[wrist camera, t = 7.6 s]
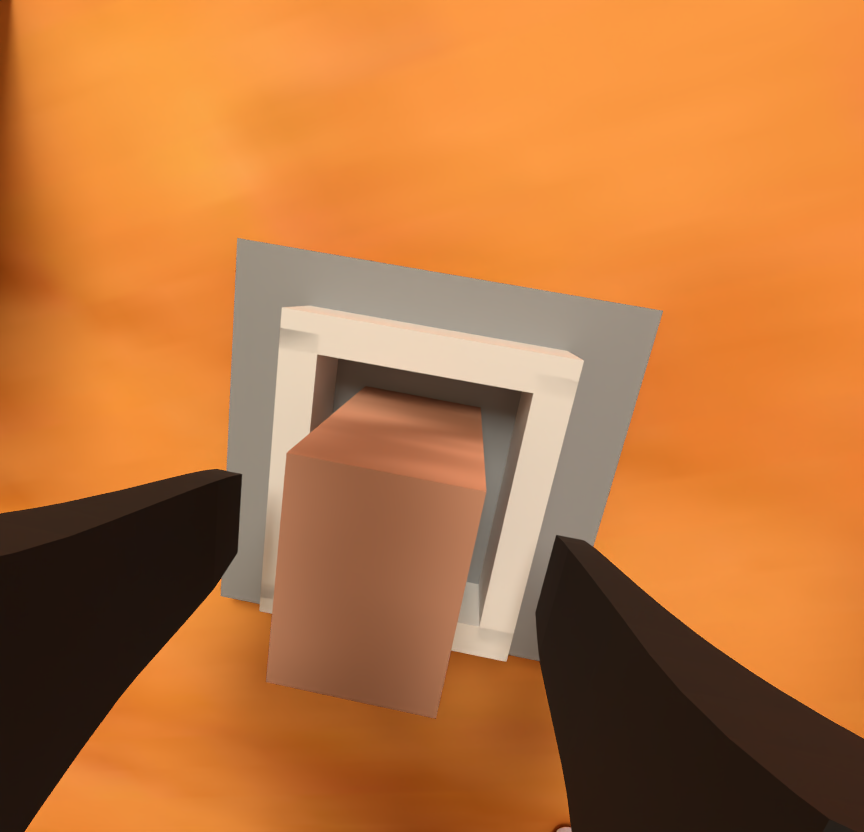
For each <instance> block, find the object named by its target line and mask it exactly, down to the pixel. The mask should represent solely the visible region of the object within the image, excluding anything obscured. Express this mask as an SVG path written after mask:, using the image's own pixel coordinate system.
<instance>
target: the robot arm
mask: <svg viewBox="0 0 864 832" xmlns="http://www.w3.org/2000/svg"><path fill="white" fill-rule="evenodd" d="M241 488H242V474H240V473H234V472H229V471H224V470H219V469H213V470H205V471H199V472H194V473H189V474H185V475H181V476H176V477H172V478H168V479H164V480H160V481H156V482H152V483H148V484H144V485H140V486H136V487H132V488H128V489H124V490H120V491H115V492H110V493H106V494H101V495H97V496H92V497H88V498H83V499H79V500H74V501H70V502H65V503H60V504H55V505H50V506H44V507H38V508H33V509H26V510H20V511H14V512H7V513H1V514H0V832H25V830H26V829H27V827H28V826H29V824H30V823H31V821H32V820H33V818H34V817H35V815H36V814H37V812H38V811H39V809H40V808H41V806H42V805H43V804H44V802H45V801H46V799H47V798H48V796H49V795H50V794H51V792H52V791H53V789H54V788H55V786H56V785H57V784H58V782H59V781H60V779H61V778H62V776H63V775H64V774H65V772H66V771H67V769H68V768H69V766H70V765H71V764H72V762H73V761H74V759H75V758H76V756H77V755H78V754H79V752H80V751H81V749H82V748H83V747H84V745H85V744H86V742H87V741H88V740H89V738H90V737H91V736H92V734H93V733H94V732H95V730H96V729H97V728H98V726H99V725H100V723H101V722H102V721H103V719H104V718H105V717H106V715H107V714H108V713H109V711H110V710H111V708H112V707H113V706H114V704H115V703H116V702H117V700H118V699H119V698H120V696H121V695H122V694H123V693H124V692H125V690H126V689H127V688H128V687H129V685H130V684H131V683H132V682H133V681H134V679H135V678H136V677H137V676H138V675H139V673H140V672H141V671H142V670H143V669H144V668H145V667H146V666H147V664H148V663H149V662H150V661H151V660H152V659H153V658H154V657H155V655H156V654H157V653H158V652H159V651H160V650H161V649H162V647H163V646H164V645H165V644H166V643H167V642H168V641H169V640H170V638H171V637H172V636H173V635H174V634H175V633H176V632H177V631H178V629H179V628H180V627H181V626H182V625H183V624H184V623H185V622H186V620H187V619H188V618H189V617H190V616H191V615H192V614H193V612H194V611H195V610H196V609H197V608H198V607H199V606H200V604H201V603H202V602H203V601H204V600H205V599H206V597H207V596H208V595H209V594H210V593H211V592H212V590H213V589H214V588H215V586H216V585H217V583H218V582H219V580H220V579H221V578H222V576H223V575H224V573H225V572H226V570H227V569H228V567H229V565H230V564H231V562H232V561H233V559H234V558H235V556H236V554H237V553H238V539H239V522H240V505H241ZM535 616H536V631H537V643H538V654H539V660H540V665H541V670H542V675H543V680H544V684H545V689H546V694H547V699H548V703H549V708H550V713H551V717H552V722H553V726H554V731H555V736H556V740H557V745H558V750H559V754H560V759H561V764H562V769H563V774H564V780H565V786H566V791H567V798H568V806H569V814H570V822H571V827H562V828H560V829H558V830H557V831H556V832H864V739H863V738H861V737H860V736H858V735H856V734H854V733H852V732H851V731H849V730H847V729H845V728H843V727H842V726H840V725H838V724H836V723H834V722H833V721H831V720H829V719H827V718H826V717H824V716H822V715H821V714H819V713H817V712H816V711H814V710H812V709H811V708H809V707H807V706H806V705H804V704H802V703H801V702H799V701H797V700H796V699H794V698H792V697H791V696H789V695H787V694H786V693H784V692H782V691H781V690H779V689H777V688H776V687H774V686H773V685H771V684H769V683H768V682H766V681H765V680H763V679H762V678H760V677H758V676H757V675H755V674H754V673H752V672H751V671H749V670H748V669H746V668H745V667H743V666H742V665H740V664H739V663H738V662H736V661H735V660H733V659H732V658H730V657H729V656H727V655H726V654H724V653H723V652H722V651H720V650H719V649H717V648H716V647H714V646H713V645H712V644H710V643H709V642H707V641H706V640H705V639H703V638H702V637H701V636H699V635H698V634H697V633H695V632H694V631H693V630H691V629H690V628H689V627H688V626H686V625H685V624H684V623H683V622H681V621H680V620H679V619H677V618H676V617H675V616H674V615H672V614H671V613H670V612H669V611H667V610H666V609H665V608H664V607H662V606H661V605H660V604H659V603H658V602H656V601H655V600H654V599H653V598H652V597H650V596H649V595H648V594H647V593H646V592H645V591H643V590H642V589H641V588H640V587H639V586H638V585H636V584H635V583H634V582H633V581H632V580H631V579H630V578H628V577H627V576H626V575H625V574H624V573H623V572H622V571H621V570H619V569H618V568H617V567H616V566H615V565H614V564H613V563H611V562H610V561H609V560H608V559H607V558H606V557H605V556H603V555H602V554H601V553H600V552H599V551H598V550H596V549H595V548H594V547H593V546H591V545H590V544H589V543H587V542H586V541H584V540H581V539H575V538H570V537H565V536H560V535H556V537H555V541H554V544H553V548H552V552H551V556H550V559H549V563H548V567H547V571H546V574H545V578H544V582H543V586H542V589H541V593H540V597H539V600H538V604H537V608H536V612H535Z"/></svg>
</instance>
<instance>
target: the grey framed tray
mask: <svg viewBox="0 0 864 832" xmlns="http://www.w3.org/2000/svg"><path fill="white" fill-rule="evenodd" d="M662 313H663V311H661V310H655V309H649V308H643V307H637V306H632V305H626V304H620V303H614V302H608V301H602V300H596V299H591V298H585V297H579V296H573V295H567V294H561V293H555V292H550V291H544V290H538V289H532V288H526V287H520V286H514V285H509V284H503V283H497V282H491V281H485V280H479V279H473V278H468V277H462V276H456V275H450V274H444V273H438V272H432V271H427V270H421V269H415V268H409V267H403V266H397V265H391V264H386V263H380V262H374V261H368V260H362V259H356V258H350V257H345V256H339V255H333V254H327V253H321V252H315V251H309V250H304V249H298V248H292V247H286V246H280V245H274V244H268V243H263V242H257V241H251V240H245V239H239V238H237V258H236V279H235V301H234V323H233V344H232V366H231V387H230V409H229V430H228V452H227V471H229V472H234V473H240V474H242V488H241V505H240V522H239V539H238V553H237V554H236V556H235V558H234V559H233V561H232V562H231V564H230V565H229V567H228V569H227V570H226V572H225V573H224V575H223V576H222V582H221V596H223V597H228V598H233V599H238V600H243V601H248V602H253V603H257V604H260V609H259V611H261V612H266V613H271V614H272V609H273V598H274V587H275V576H276V565H277V553H278V542H279V531H280V520H281V509H282V498H283V486H284V475H285V464H286V453H287V452H288V451H289V450H290V449H292V448H293V447H294V446H295V445H296V444H297V443H299V442H300V441H301V440H302V439H303V438H305V437H306V436H307V435H308V434H309V433H311V432H312V431H313V430H314V429H315V428H316V427H318V426H319V425H320V424H321V423H322V422H324V421H325V420H326V419H327V418H328V417H329V416H331V415H332V414H333V413H334V412H335V411H337V410H338V409H339V408H340V407H341V406H343V405H344V404H345V403H346V402H347V401H348V400H350V399H351V398H352V397H353V396H354V395H356V394H357V393H358V392H359V391H360V390H361V389H363V388H364V387H365V386H369V387H374V388H379V389H385V390H390V391H395V392H400V393H406V394H411V395H416V396H422V397H427V398H432V399H438V400H443V401H448V402H454V403H459V404H464V405H470V406H475V407H480V408H481V420H482V434H483V449H484V463H485V478H486V496H485V500H484V505H483V509H482V514H481V518H480V523H479V527H478V532H477V536H476V541H475V545H474V550H473V554H472V559H471V563H470V568H469V572H468V577H467V581H466V586H465V590H464V595H463V599H462V604H461V608H460V613H459V617H458V622H457V626H456V631H455V635H454V640H453V644H452V649H451V651H456V652H461V653H466V654H471V655H476V656H481V657H485V658H490V659H495V660H500V661H505V662H506V661H507V658H508V655H512V656H517V657H522V658H527V659H532V660H536V661H540V660H539V654H538V643H537V631H536V616H535V612H536V608H537V604H538V600H539V597H540V593H541V589H542V586H543V582H544V578H545V574H546V571H547V567H548V563H549V559H550V556H551V552H552V548H553V544H554V541H555V537H556V535H560V536H565V537H570V538H575V539H581V540H584V541H586V542H587V543H589V544H590V545H591V546H594V542H595V539H596V535H597V532H598V529H599V525H600V522H601V519H602V515H603V512H604V508H605V505H606V502H607V498H608V495H609V492H610V488H611V485H612V481H613V478H614V475H615V471H616V468H617V465H618V461H619V458H620V454H621V451H622V448H623V444H624V441H625V438H626V434H627V431H628V427H629V424H630V421H631V417H632V414H633V411H634V407H635V404H636V400H637V397H638V394H639V390H640V387H641V384H642V380H643V377H644V373H645V370H646V367H647V363H648V360H649V357H650V353H651V350H652V346H653V343H654V340H655V336H656V333H657V330H658V326H659V323H660V319H661V316H662Z"/></svg>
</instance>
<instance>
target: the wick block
mask: <svg viewBox="0 0 864 832" xmlns="http://www.w3.org/2000/svg"><path fill="white" fill-rule="evenodd" d="M485 496H486V478H485V463H484V449H483V434H482V420H481V408H480V407H475V406H470V405H464V404H459V403H454V402H448V401H443V400H438V399H432V398H427V397H422V396H416V395H411V394H406V393H400V392H395V391H390V390H385V389H379V388H374V387H369V386H365V387H364V388H363V389H361V390H360V391H359V392H358V393H357V394H356V395H354V396H353V397H352V398H351V399H350V400H348V401H347V402H346V403H345V404H344V405H343V406H341V407H340V408H339V409H338V410H337V411H335V412H334V413H333V414H332V415H331V416H329V417H328V418H327V419H326V420H325V421H324V422H322V423H321V424H320V425H319V426H318V427H316V428H315V429H314V430H313V431H312V432H311V433H309V434H308V435H307V436H306V437H305V438H303V439H302V440H301V441H300V442H299V443H297V444H296V445H295V446H294V447H293V448H292V449H290V450H289V451H288V452H287V453H286V464H285V475H284V486H283V498H282V509H281V520H280V531H279V542H278V553H277V565H276V576H275V587H274V598H273V609H272V620H271V631H270V643H269V654H268V665H267V676H266V682H269V683H273V684H278V685H282V686H287V687H292V688H296V689H301V690H306V691H310V692H315V693H319V694H324V695H329V696H333V697H338V698H343V699H347V700H352V701H356V702H361V703H366V704H370V705H375V706H380V707H384V708H389V709H394V710H398V711H403V712H407V713H412V714H417V715H421V716H426V717H431V718H435V719H436V716H437V712H438V707H439V703H440V698H441V694H442V689H443V685H444V680H445V676H446V671H447V667H448V662H449V658H450V653H451V649H452V644H453V640H454V635H455V631H456V626H457V622H458V617H459V613H460V608H461V604H462V599H463V595H464V590H465V586H466V581H467V577H468V572H469V568H470V563H471V559H472V554H473V550H474V545H475V541H476V536H477V532H478V527H479V523H480V518H481V514H482V509H483V505H484V500H485Z"/></svg>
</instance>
